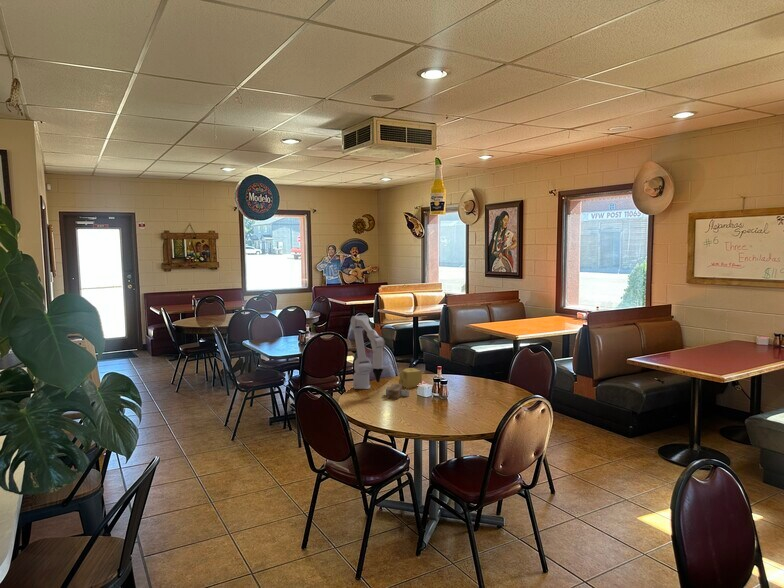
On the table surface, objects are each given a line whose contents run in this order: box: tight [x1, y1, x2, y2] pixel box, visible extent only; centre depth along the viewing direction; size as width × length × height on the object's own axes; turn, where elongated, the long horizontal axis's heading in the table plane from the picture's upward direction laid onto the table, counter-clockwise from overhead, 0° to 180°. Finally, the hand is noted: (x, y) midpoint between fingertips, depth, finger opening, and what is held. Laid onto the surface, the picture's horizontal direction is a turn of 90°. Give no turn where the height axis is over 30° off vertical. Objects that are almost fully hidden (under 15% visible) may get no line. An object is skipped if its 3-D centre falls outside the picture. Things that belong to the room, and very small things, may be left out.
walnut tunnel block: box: [387, 383, 403, 400], centre depth 313 cm, size 6×14×5 cm, turn 171°
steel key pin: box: [385, 386, 410, 398], centre depth 313 cm, size 13×6×4 cm, turn 81°
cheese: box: [398, 367, 423, 389], centre depth 335 cm, size 10×11×10 cm
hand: (378, 381), depth 314 cm, fingers closed
